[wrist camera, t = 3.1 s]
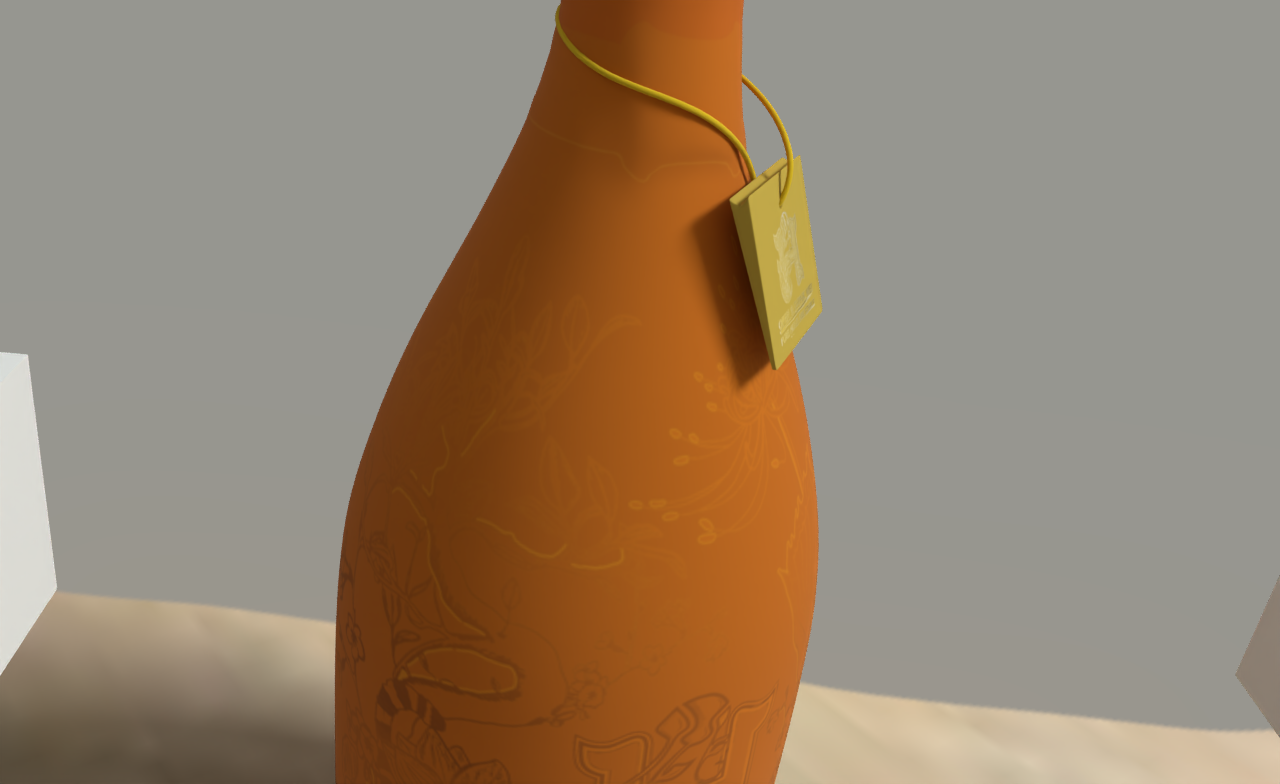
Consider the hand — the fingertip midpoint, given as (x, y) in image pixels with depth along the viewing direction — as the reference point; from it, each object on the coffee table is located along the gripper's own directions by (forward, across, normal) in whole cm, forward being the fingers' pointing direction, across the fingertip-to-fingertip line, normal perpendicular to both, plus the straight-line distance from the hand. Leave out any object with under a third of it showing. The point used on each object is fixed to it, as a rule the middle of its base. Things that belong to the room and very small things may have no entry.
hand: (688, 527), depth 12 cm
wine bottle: (+10, 0, -19) cm, 21 cm away
